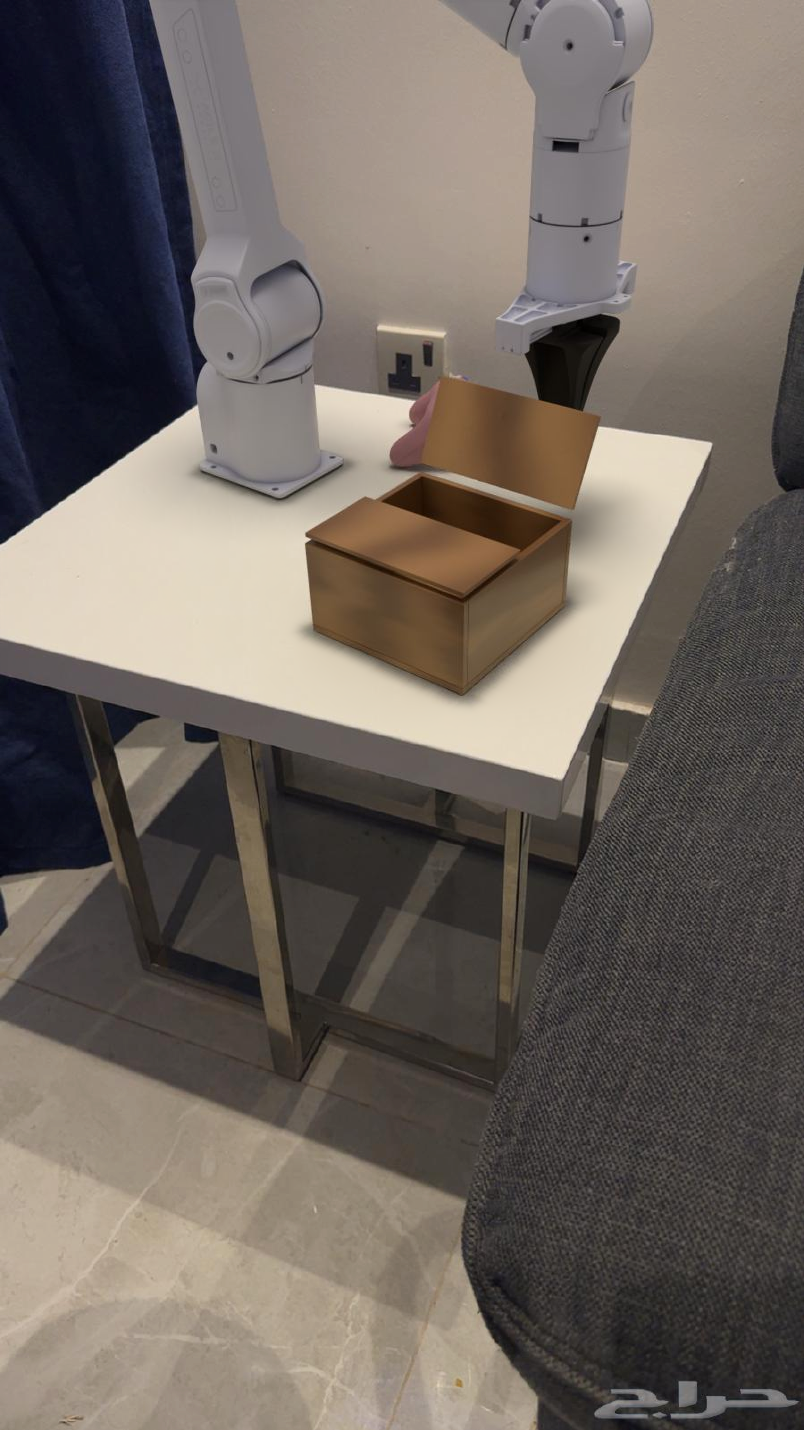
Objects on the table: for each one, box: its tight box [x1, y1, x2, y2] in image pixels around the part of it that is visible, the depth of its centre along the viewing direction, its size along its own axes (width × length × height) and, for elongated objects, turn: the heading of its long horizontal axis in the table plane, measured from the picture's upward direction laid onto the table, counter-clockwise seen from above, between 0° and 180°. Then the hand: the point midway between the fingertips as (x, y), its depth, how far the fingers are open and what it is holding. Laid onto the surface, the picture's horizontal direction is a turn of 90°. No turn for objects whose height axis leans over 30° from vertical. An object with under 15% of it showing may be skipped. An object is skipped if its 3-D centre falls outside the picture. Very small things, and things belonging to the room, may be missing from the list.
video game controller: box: [389, 371, 473, 468], centre depth 87 cm, size 10×5×7 cm, turn 168°
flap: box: [420, 374, 602, 511], centre depth 67 cm, size 12×6×1 cm
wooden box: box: [304, 471, 573, 696], centre depth 66 cm, size 12×12×7 cm
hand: (560, 425), depth 72 cm, fingers closed
